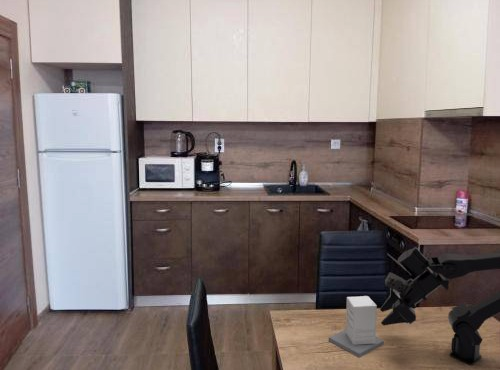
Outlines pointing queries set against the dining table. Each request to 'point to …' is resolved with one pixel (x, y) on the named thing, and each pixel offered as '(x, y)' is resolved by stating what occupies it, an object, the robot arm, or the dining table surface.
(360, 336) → the supplement box
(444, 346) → the dining table surface
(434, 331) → the dining table surface
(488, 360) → the dining table surface
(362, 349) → the tile
